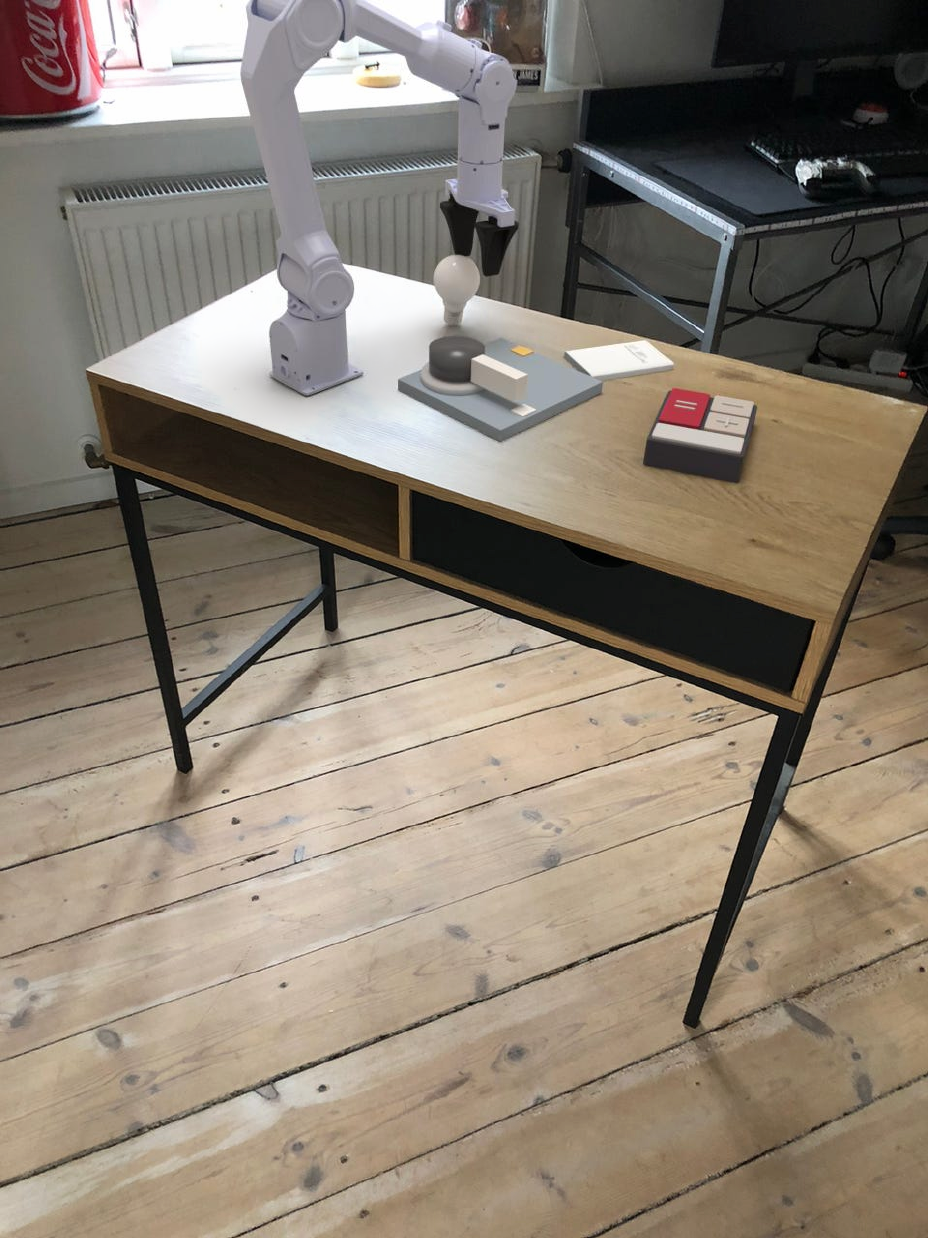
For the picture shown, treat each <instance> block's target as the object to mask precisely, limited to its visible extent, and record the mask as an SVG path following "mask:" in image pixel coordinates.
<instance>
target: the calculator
mask: <svg viewBox="0 0 928 1238" xmlns="http://www.w3.org/2000/svg"><path fill="white" fill-rule="evenodd" d="M660 406H661V407H660V409H659V411H658V412H657V416H655V419H654V422H653V424H652V426H651V428H650V430H649V432H648V436H647V437H646V442H645V448H644V454H643V459H642V460H643V461H642V465H643V466H645V467H650V468H655V469H660V470H665V471H671V472H676V473H681V474H687V475H691V476H692V475H693V476H697V477H701V478H702V477H703V478H708V479H713V480H717V481H724V482H728V483H734V484H737V483H738V482H739V481H740V477H741V474H742V471H743V470H742V469H743V465H744V463H745V457H746V453H747V451H748V447H749V443H750V439H751V435H752V431H753V427H754V423H755V419H756V415H757V410H758V405H756V404H755V403H754V401H751V400H745V399H740V398H734V397H729V396H724V395H718V394H717V395H715V396H714V397H711V394H710V393H705V392H699V391H694V390H688V389H684V388H683V389H682V388H677V387H673V388H672V389H671V390H668V391H667V394H666V395H665V397H664V400H663V402H662V405H660Z"/></svg>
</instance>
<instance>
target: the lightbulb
mask: <svg viewBox="0 0 928 1238" xmlns="http://www.w3.org/2000/svg"><path fill="white" fill-rule="evenodd" d="M480 275H481V274H480V271H479V269H478V267H477V265H476V263H475V262H474V261H473V260H472V259H471V258H469V257H468V256H466V257H465V256H463V255H455V254H451V255H448V256H446V257H444V258H443V259H442V260H440V261H439V263H438V264H437V266H436V267H435V270H434V273H433V286H434V289H435V291H436V293H437V294H438V296H439V297H440V298H441V300H442V304H443V307H444V308H443V309H444V311H443V321H444V322H445V323H446V324H447V325H448V326H449V325H450V326H458V325H460V324H461V323H462V322H463V317H464V310H465V307H466V306H467V303H468V302H469V301H470V300H471V299H472V298H474V296H475V295H476V293H477V292H478V289H479V287H480V282H481V276H480Z"/></svg>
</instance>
